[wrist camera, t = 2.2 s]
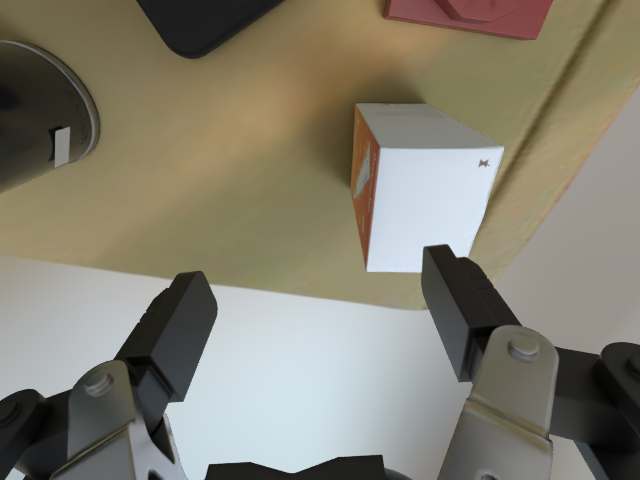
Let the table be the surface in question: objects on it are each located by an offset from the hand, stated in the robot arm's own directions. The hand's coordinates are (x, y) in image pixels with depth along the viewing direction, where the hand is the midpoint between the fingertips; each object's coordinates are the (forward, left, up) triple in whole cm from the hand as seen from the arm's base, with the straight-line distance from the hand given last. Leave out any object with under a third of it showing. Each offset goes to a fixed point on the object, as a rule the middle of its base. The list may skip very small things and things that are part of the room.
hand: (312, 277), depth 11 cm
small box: (+6, 0, -19) cm, 20 cm away
